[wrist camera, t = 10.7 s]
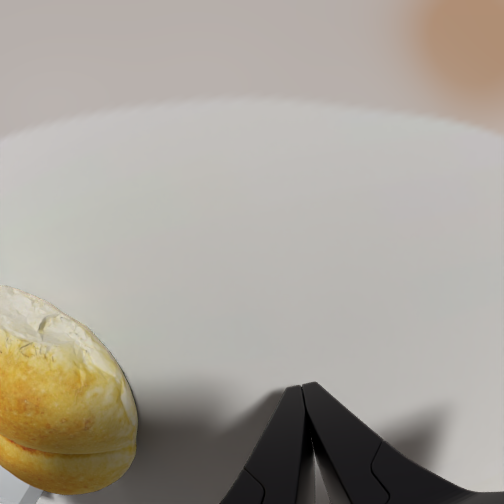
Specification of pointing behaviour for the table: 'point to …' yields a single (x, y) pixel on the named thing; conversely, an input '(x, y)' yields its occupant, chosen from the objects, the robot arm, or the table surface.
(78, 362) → the bread roll
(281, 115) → the table surface
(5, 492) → the u-shaped frame
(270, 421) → the robot arm
